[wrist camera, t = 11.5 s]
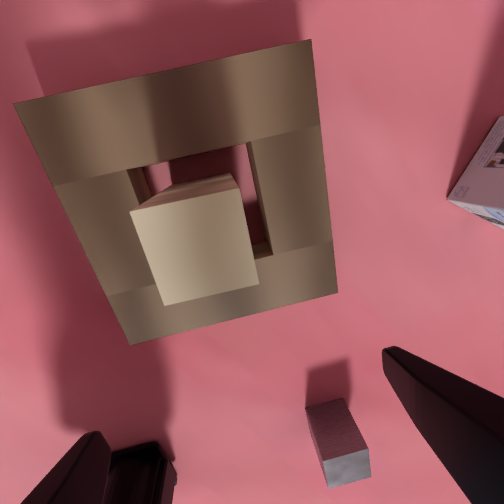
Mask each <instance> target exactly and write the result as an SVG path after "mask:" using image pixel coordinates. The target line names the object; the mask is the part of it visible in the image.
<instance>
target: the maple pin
mask: <svg viewBox="0 0 504 504" xmlns="http://www.w3.org/2000/svg"><path fill="white" fill-rule="evenodd" d="M130 215H131V217H132V220H133V223H134V226H135V228H136V231H137V234H138V236H139V239H140V242H141V244H142V247H143V250H144V252H145V255H146V258H147V260H148V263H149V266H150V269H151V271H152V274H153V277H154V279H155V282H156V285H157V287H158V290H159V293H160V295H161V298H162V301H163V303H164V306H167V305H171V304H175V303H180V302H184V301H188V300H193V299H197V298H201V297H206V296H210V295H214V294H219V293H223V292H227V291H232V290H236V289H240V288H244V287H249V286H253V285H257V284H259V280H258V275H257V271H256V266H255V261H254V256H253V251H252V247H251V242H250V237H249V232H248V227H247V223H246V218H245V213H244V208H243V203H242V199H241V194H240V189H239V187H238V185H237V183H236V182H235V180H234V179H233V177H232V175H231V174H230V173H226V174H221V175H216V176H212V177H207V178H202V179H197V180H193V181H188V182H183V183H179V184H174V185H171V186H169V187H168V188H166V189H165V190H163V191H161V192H160V193H158V194H157V195H155V196H153V197H152V198H150V199H149V200H147V201H145V202H144V203H142V204H141V205H139V206H138V207H136V208H134V209H133V210H131V211H130Z"/></svg>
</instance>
